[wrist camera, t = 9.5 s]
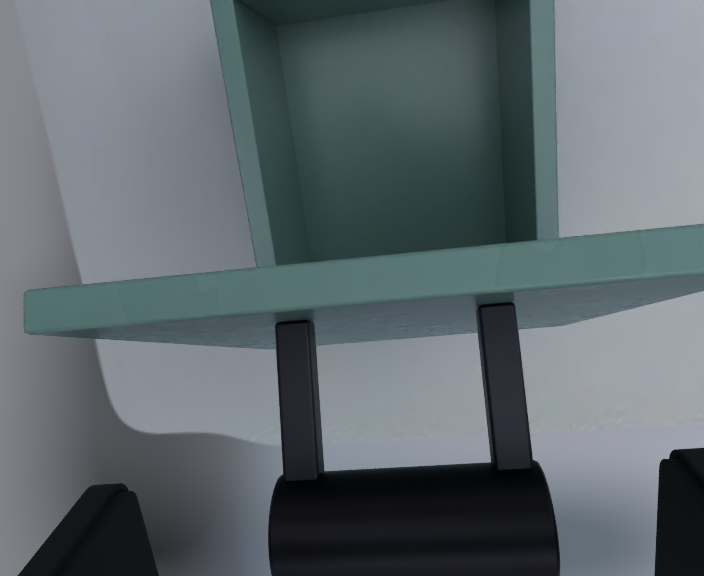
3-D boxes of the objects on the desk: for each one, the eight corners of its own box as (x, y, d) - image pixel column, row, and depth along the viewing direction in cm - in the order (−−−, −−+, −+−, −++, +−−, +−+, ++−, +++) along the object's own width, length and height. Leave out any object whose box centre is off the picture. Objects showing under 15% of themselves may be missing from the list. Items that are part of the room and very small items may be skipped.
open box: (260, 12, 30) (205, -25, 22) (509, -26, 29) (553, -82, 20) (301, 280, 34) (268, 336, 26) (520, 260, 33) (560, 312, 25)
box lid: (21, 289, 10) (20, 653, 9) (803, 213, 9) (880, 637, 8) (265, 331, 26) (273, 470, 25) (562, 306, 24) (580, 453, 23)
